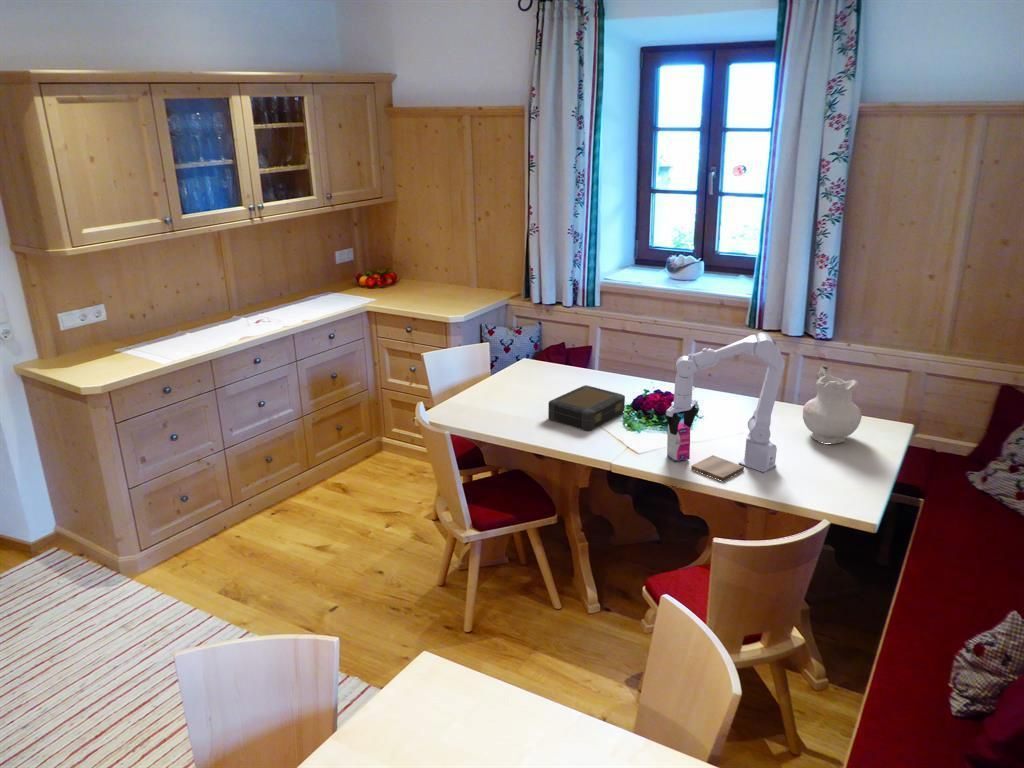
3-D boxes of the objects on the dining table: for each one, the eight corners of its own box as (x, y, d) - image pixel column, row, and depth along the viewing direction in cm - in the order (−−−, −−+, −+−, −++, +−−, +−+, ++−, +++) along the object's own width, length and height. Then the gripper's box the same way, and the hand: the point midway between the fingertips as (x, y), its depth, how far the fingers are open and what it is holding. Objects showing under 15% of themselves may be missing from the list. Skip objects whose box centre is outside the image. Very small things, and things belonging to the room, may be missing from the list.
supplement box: (674, 461, 263) (674, 429, 260) (666, 456, 268) (666, 424, 265) (690, 459, 264) (690, 427, 261) (682, 453, 270) (682, 421, 267)
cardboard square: (743, 472, 258) (744, 466, 257) (722, 483, 250) (722, 477, 249) (712, 460, 266) (712, 455, 265) (691, 471, 259) (691, 465, 258)
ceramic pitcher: (785, 431, 291) (789, 368, 282) (830, 421, 296) (835, 358, 287) (824, 454, 272) (829, 387, 263) (871, 443, 277) (877, 377, 268)
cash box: (583, 401, 319) (583, 383, 316) (625, 413, 306) (626, 394, 304) (545, 419, 301) (545, 400, 298) (589, 432, 288) (589, 413, 286)
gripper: (686, 384, 266) (683, 421, 270) (659, 394, 257) (657, 433, 261) (704, 389, 261) (700, 427, 265) (677, 400, 252) (674, 439, 256)
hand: (680, 430), depth 263 cm, fingers closed on supplement box, 7 cm apart
